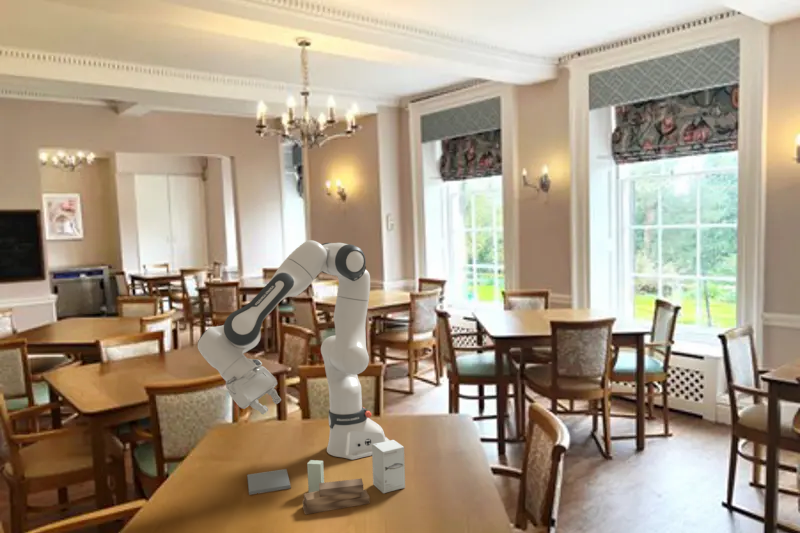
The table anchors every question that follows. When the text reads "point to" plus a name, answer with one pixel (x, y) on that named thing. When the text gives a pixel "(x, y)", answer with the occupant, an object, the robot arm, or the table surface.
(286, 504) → the table surface
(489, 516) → the table surface
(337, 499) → the offcut stack
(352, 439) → the robot arm
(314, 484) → the tall block
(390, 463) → the supplement box
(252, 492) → the slate mat
